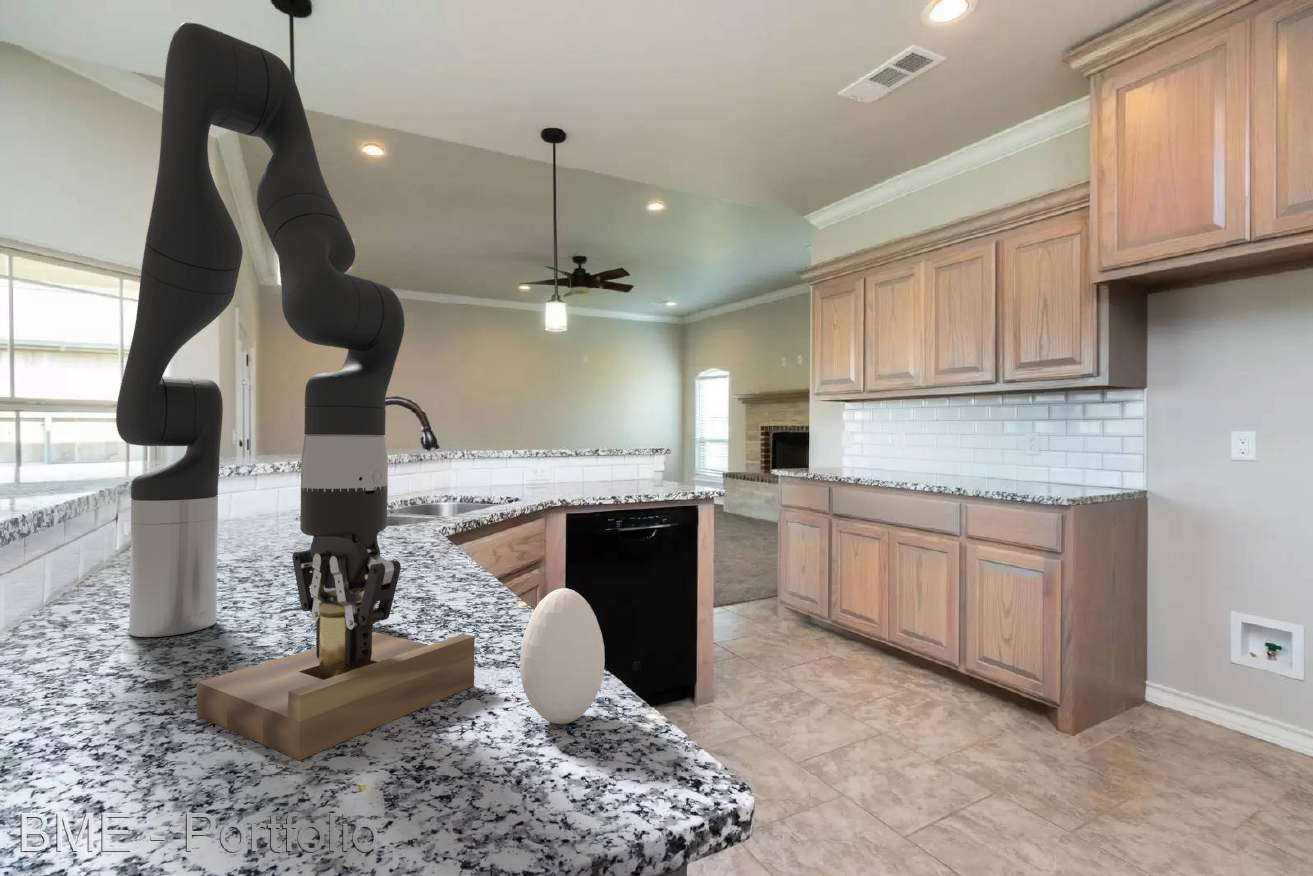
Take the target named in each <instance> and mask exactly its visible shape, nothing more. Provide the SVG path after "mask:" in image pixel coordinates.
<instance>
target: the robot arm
mask: <svg viewBox="0 0 1313 876" xmlns="http://www.w3.org/2000/svg"><path fill="white" fill-rule="evenodd" d="M168 47H169V48H168V50H167V56H166V63H165V71H164V73H165V74H164V83H163V84H164V85H163V98H162V99H163V100H162V115H161V116H162V117H161V134H160V151H159V161H158V169H157V177H156V185H155V189H154V196H153V202H152V206H151V212H150V216H149V223H148V228H147V233H146V237H145V243H144V250H143V257H142V264H141V272H140V280H139V282H140V283H139V291H138V300H137V309H136V310H137V311H136V317H135V318H136V319H135V324H134V329H133V334H132V335H133V336H132V339H131V343H130V348H129V351H128V356H127V359H126V364H125V367H124V368H125V369H124V372H123V376H122V379H121V383H120V388H119V392H118V397H117V401H116V403H117V404H116V411H115V412H116V413H115V422H116V423H115V424H116V430H117V432H118V435H119V437H120V438H121V439H122V440H123V441H124V442H125V443H127V444H129V445H132V446H133V445H134V446H141V447H143V446H144V447H187V448H186V451H185V454H184V456H182V457H181V458H180V459H179V460H177V461H175V462H173V463H171V464H170V465H167V466H166V467H163V468H160V469H156V470H154V471H150V472H147V473H144V474H141V475H140V474H139V475H138V476H136V477H134V478H133V479H132V482H131V486H130V563H129V564H130V566H129V567H130V570H129V574H130V575H129V581H130V582H129V622H128V623H129V627H128V628H129V629H128V630H129V631H128V632H129V635H130V636H133V637H139V638H141V637H142V638H157V637H158V638H159V637H167V636H168V637H169V636H170V637H171V636H176V635H182V634H183V635H184V634H188V633H192V632H196V631H200V630H203V629H208V628H210V627H211V626H213V625H215V624H216V623H217V608H218V607H217V606H218V605H217V603H218V600H217V599H218V598H217V597H218V540H219V539H218V534H219V533H218V528H219V525H218V524H219V521H218V520H219V518H218V515H219V498H218V497H219V496H218V495H219V477H220V461H221V460H220V456H221V440H222V429H223V416H224V415H223V413H224V412H223V411H224V405H223V396H222V391H221V389H220V387H219V385H218V384H217V383H216V382H215V381H214V380H212V379H208V378H207V379H206V378H200V377H197V378H196V377H184V376H182V377H181V376H169V375H168V376H167V375H164V373H165V372H166V369H167V367H168V366H169V364H170V363H171V361H172V360H173V358H174V356H175V355H176V354H177V353H178V352H179V350H180V349H182V347H183V346H184V345H185V344H186V343H188V342H189V341H190V340H191V339H192V338H193V337H195V336H196V335H198V334H199V333H200V332H201V331H203V330H204V329H205V328H207V326H209V325H210V324H211V323H213V321H214V320H216V319H217V318H218V317H219V316H220V315H221V314H223V312H224V311H225V310H226V309H227V307H228V306H230V304H231V302H232V301H233V299H234V296H235V292H236V289H237V283H238V278H239V273H240V269H241V265H242V261H243V260H242V259H243V245H242V244H243V243H242V241H241V237H240V233H239V232H238V229H237V227H236V225H235V222H234V220H233V218H232V217H231V215H230V212H229V210H228V208H227V206H226V204H225V202H224V201H223V199H222V197H221V194H220V193H219V190H218V188H217V186H216V183H215V179H214V177H213V174H212V171H211V167H210V162H209V148H208V147H209V146H208V145H209V133H210V130H211V125H212V126H215V127H218V128H221V129H225V130H229V131H231V132H236V133H239V134H242V135H243V134H244V135H245V136H246V135H247V136H250V137H257V138H260V139H261V140H263V141H264V143H265V144H266V145H267V146H268V148H269V149H270V151H271V153H272V155H271V158H270V160H269V161H268V163H267V165H266V167H265V168H264V170H263V171H262V172H261V173H262V174H261V175H260V178H259V180H258V184H257V187H256V204H257V209H258V214H259V216H260V220H261V223H262V224H263V227H264V229H265V231H266V233H267V235H268V238H269V240H270V242H271V243H272V246H273V248H274V250H275V252H276V254H277V256H278V264H279V265H278V266H279V275H280V285H281V306H282V307H281V308H282V312H283V315H284V319H285V320H286V323H287V324H288V325H289V327H290V329H291V330H293V332H294V333H295V334H296V335H297V336H299V337H300V338H301V339H303V340H304V341H306V342H307V343H312V344H314V345H320V346H326V347H332V348H333V347H334V348H339V349H345V350H347V355H346V357H345V359H344V360H345V361H343V365H342V366H341V369H340V370H338V371H337V370H336V371H329V372H328V371H327V372H321V373H317V374H314V375H313V376H311V377H310V378H309V379H308V380H307V382H306V384H305V390H304V437H303V444H302V445H303V446H302V452H301V459H300V460H301V461H300V523H299V524H300V527H299V529H300V531H301V532H302V533H303V534H304V535H306V536H310V537H312V541H311V544H310V548H309V549H307V550H300V551H294V552H293V554H292V563H293V570H294V575H295V581H296V586H297V591H298V596H299V603H300V608H301V610H302V611H303V612H310V613H311V618H312V621H314V622H316V626H315V627H316V631H315V632H316V634H315V635H316V638H315V640H316V642H315V646H316V647H315V648H316V656H317V658H318V659H319V648H320V615H319V603H320V602H322V601H326V600H327V599H331V597H332V598H337V599H338V603H339V604H340V605H343V606H344V612H345V618H346V625H347V627H348V628H347V629H345V665H346V667H348V668H351V669H355V668H358V667H361V666H364V665H367V664H368V663H369V662H370V660H371V655H372V632H373V627H374V624H375V623H378V622H381V621H385V620H388V619H389V618H390V614H391V611H392V610H391V609H392V606H393V603H394V600H395V599H394V598H395V593H396V591H397V590H396V589H397V584H398V582H399V577H400V574H401V570H402V565H401V563H400V561H399V560H397V559H396V560H390V561H389V560H387V559H385V558H383V557H382V556H381V550H380V547H379V542H378V536H379V535H378V534H380V532H382V531H384V530H385V529H386V528H387V526H388V495H389V494H388V487H389V486H388V481H389V477H388V476H389V475H388V471H389V470H388V468H389V465H388V464H389V462H388V461H389V460H388V450H387V444H386V443H387V441H386V414H387V413H386V407H387V406H386V395H387V392H388V388H389V384H390V382H391V378H392V375H393V372H394V369H395V364H396V361H397V357H398V354H399V351H400V347H401V346H402V345H401V344H402V342H403V337H404V333H405V313H404V309H403V307H402V303H401V301H400V299H399V297H398V296H397V294H396V292H395V291H394V290H392V289H391V288H390V287H389V286H387V285H385V284H383V283H380V282H376V281H373V280H369V279H365V278H362V277H358V276H355V275H350V274H347V273H346V272H348V271H349V270H350V269H351V268H352V266H353V264H354V262H355V259H356V248H355V244H354V241H353V238H352V235H351V233H350V232H349V230H348V228H347V225H346V224H345V221H344V220H343V217H342V215H341V214H340V211H339V210H338V209H339V208H338V207H337V206H336V203H335V202H334V199H333V197H332V196H331V193H330V192H329V189H328V187H327V184H326V182H325V179H324V176H323V173H322V170H321V168H320V164H319V160H318V156H317V153H316V149H315V145H314V141H313V137H312V134H311V129H310V126H309V121H308V119H307V116H306V112H305V108H304V105H303V101H302V97H301V93H300V91H299V88H298V85H297V83H296V80H295V78H294V76H293V74H292V72H291V70H290V68H289V66H288V65H287V64H286V63H285V62H284V60H283V59H282V58H280V57H279V56H277V55H276V54H274V53H272V52H270V51H269V50H266V49H264V48H262V47H259V46H257V45H254V44H252V43H249V42H246V41H244V40H242V39H238V38H236V37H234V36H231V35H229V34H228V33H227V34H226V33H224V32H222V31H220V30H217V29H214V28H212V27H209V26H206V25H203V24H201V23H199V22H195V21H186V22H182V23H181V24H179V26H178V27H177V28H176V30H175V32H174V33H173V35H172V37H171V40H170V43H169V46H168ZM364 586H365V589H364V591H363V592H360V593H356V594H353V593H351V592H350V591H351V590H356V589H361V588H364ZM312 596H313V597H312ZM357 601H362V603H361V607H360V611H359V613H358V614H357V607H356V603H357ZM376 602H377V603H378V606H377V603H376ZM375 603H376V605H375Z"/></svg>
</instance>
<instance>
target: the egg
mask: <svg viewBox="0 0 1313 876" xmlns="http://www.w3.org/2000/svg"><path fill="white" fill-rule="evenodd" d="M521 642H522V643H521V648H520V655H519V656H520V658H519V659H520V660H519V661H520V662H519V668H520V679H521V683H522V688H523V691H524V694H525V695H526V698H527V699H528V701H529V703H530V706H532V708H533V709H534V710H535V711H536V713H537V714H538V716H540V717H542V718H543V719H544V720H545V721H548V722H550V723H552V724H557V725H566V724H569V723H572V722H574V721H577V720H578V719H579V718H581V717H582V716H583V715H584V714H585V713H586V712H587V711H588V710H589V708H590V707H591V706H592V704H593V703H594V701H595V699H596V697H597V695H598V693H599V691H600V689H601V686H602V682H603V677H604V674H605V673H604V672H605V661H606V659H605V644H604V639H603V634H602V631H601V628H600V624H599V622H598V619H597V616H596V614H595V612H594V610H593V608H592V606H591V605H590V604H589V602H588V601H587V600H586V599H585V598H584V597H583V596H582V595H581V594H579V592H577V591H575V590H573V589H570V588H567V587H565V588H557V589H554V590H552V591H550V592H549V593H548V594H547V595H546V596H544V598H542V599H541V600H540V601H539V603H538V604H537V605H536V607H535V609H534V610H533V612H532V614H531V616H530V618H529V620H528V623H527V626H526V628H525V631H524V633H523V636H522V641H521Z"/></svg>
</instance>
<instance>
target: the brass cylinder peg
mask: <svg viewBox="0 0 1313 876" xmlns="http://www.w3.org/2000/svg"><path fill="white" fill-rule="evenodd" d="M361 603H362V601H357V603H356V607H357V614H358V613H359V611H360V607H361ZM319 615H320V648H319V678H320V679H323V680H325V679H328V678H331V677H334V676H337V675H340V674H343V673H346V672H349V671H352V670H355V669H358V668H361V667H364V666H366V665H364V666H361V667H358V668H355V669H351V668H348V667H346V665H345V629H347V628H348V627H347V625H346V618H345V612H344V606H343V605H340V604H339V603H338V599H337V598H331V599H327V600H326V601H322V602H320V603H319Z"/></svg>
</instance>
